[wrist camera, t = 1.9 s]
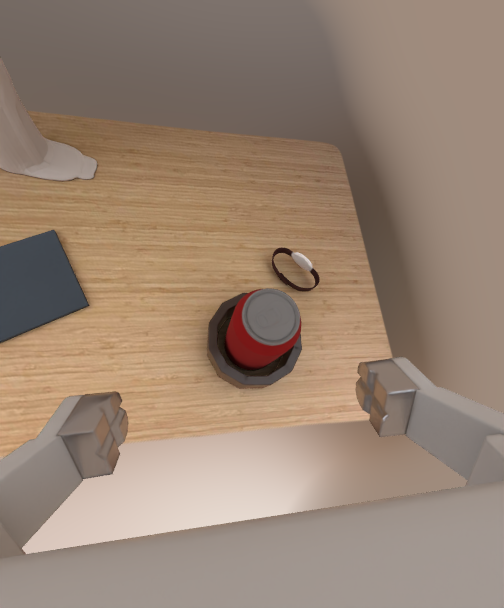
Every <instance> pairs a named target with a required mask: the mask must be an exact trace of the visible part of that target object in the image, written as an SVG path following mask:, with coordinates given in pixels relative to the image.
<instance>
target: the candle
mask: <svg viewBox="0 0 504 608" xmlns="http://www.w3.org/2000/svg"><path fill="white" fill-rule="evenodd" d="M0 168H2V169H3V170H5V171H8V172H11V173H18V174H24V175H28V176H32V177H37V178H42V179H48V180H58V181H68V180H73V179H75V178H81V179H91V178H93V177H94V175H93V174H94V172H95V170H96V168H97V161H96V160H95V159H93V158H90V157H87V156H84V155H83V154H82V153H81V152H80V151H78V150H77V149H76V148H74V147H71V146H69V145H66V144H64V143H59V142H55V141H51V140H48V139H46V138H44V137H43V136H42V134H41V133H40V132H39V130H38V128H37V127H36V125H35V124H34V122H33V121H32V119H31V117H30V116H29V114H28V112H27V111H26V109H25V107H24V105H23V104H22V102H21V100H20V98H19V96H18V95H17V92H16V90H15V88H14V86H13V84H12V80H11V77H10V75H9V73H8V72H7V70H6V68H5V66H4V64H3V61H2V59H1V57H0Z"/></svg>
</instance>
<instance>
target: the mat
mask: <svg viewBox="0 0 504 608" xmlns="http://www.w3.org/2000/svg"><path fill="white" fill-rule="evenodd" d="M87 306H89V304H88V302H87V300H86V298H85V296H84V293H83V291H82V289H81V287H80V285H79V282H78V280H77V278H76V276H75V274H74V271H73V269H72V267H71V265H70V263H69V261H68V258H67V256H66V254H65V252H64V250H63V247H62V245H61V243H60V241H59V239H58V236H57V234H56V232H55V231H54V230H51V231H48V232H45V233H42V234H39V235H36V236H32V237H29V238H26V239H23V240H20V241H17V242H13V243H10V244H7V245H4V246H1V247H0V343H1V342H4V341H6V340H8V339H11V338H13V337H16V336H18V335H20V334H23V333H25V332H28V331H30V330H32V329H35V328H37V327H39V326H42V325H44V324H47V323H49V322H51V321H54V320H56V319H59V318H61V317H63V316H66V315H68V314H71V313H73V312H75V311H78V310H80V309H83V308H85V307H87Z"/></svg>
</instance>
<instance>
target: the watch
mask: <svg viewBox="0 0 504 608" xmlns="http://www.w3.org/2000/svg"><path fill="white" fill-rule="evenodd" d="M278 253H285V254H288V255H290V256H291V257H293V260H294V261H295V262H296V263H297V264H298V265H299V266H300V267H302V268H303V269H305V270H308V271H310V272H311V274H312V275H313V276H314V278H315V286H314V287H312V288H301V287H298V286H296V285H294V284H293V283H291V282H290V281H289V280H288V279H287V278H285V277H284V275H283V274H282V273H279V271H278V270H277V268H276V266H275V264H274V261H273V259H274V256H275V255H276V254H278ZM272 267H273V269H274V271H275V273H276V274H277V276H278V277H279V278H280V280H282V281H283V282H284V283H285V284H286V285H289V286H290V287H292V288H294V289H296V290H298V291H310V290H312V289H313V288H315V287H316V286H317V285H318V283H319V275H318V273H317V272H316V271H315V270H314V269H313V268H312V263H311V262H310V261H309V259H308V258H307V257H305V256H304V255H303V254H301V253H298V252H296V253H294V252H292V251H291V250H289V249H287V248H278V249H276V250H275V252H274V253H273V258H272Z"/></svg>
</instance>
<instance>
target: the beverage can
mask: <svg viewBox="0 0 504 608" xmlns="http://www.w3.org/2000/svg"><path fill="white" fill-rule="evenodd" d="M300 332H301V318H300V313H299V310H298V307H297V305H296V303H295V302H294V301H293V299H292V298H291V297H290V296H288V295H287V294H286V293H284V292H282V291H280V290H277V289H259V290H255V291H252V292H250V293H248V294H246V295H245V296H244V297H242V298H241V299H240V301H239V302H238V303H237V305H236V307H235V310H234V312H233V315H232V318H231V321H230V323H229V326H228V330H227V333H226V336H225V343H224V344H225V351H226V354H227V356H228V357H229V359H230V360H231V361H232V363H234V364H235V365H236V366H238V367H239V368H242V369H245V370H258V369H261V368H263V367H265V366H266V365H268V364H270V363H271V362H273V361H274V360H276V359H277V358H279V357H280V356H281V355H283V354H284V353H285V352H287V351H288V350H289V349H291V348H292V347H293V346H294V345H295V343H296V342H297V340H298V338H299V335H300Z"/></svg>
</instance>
